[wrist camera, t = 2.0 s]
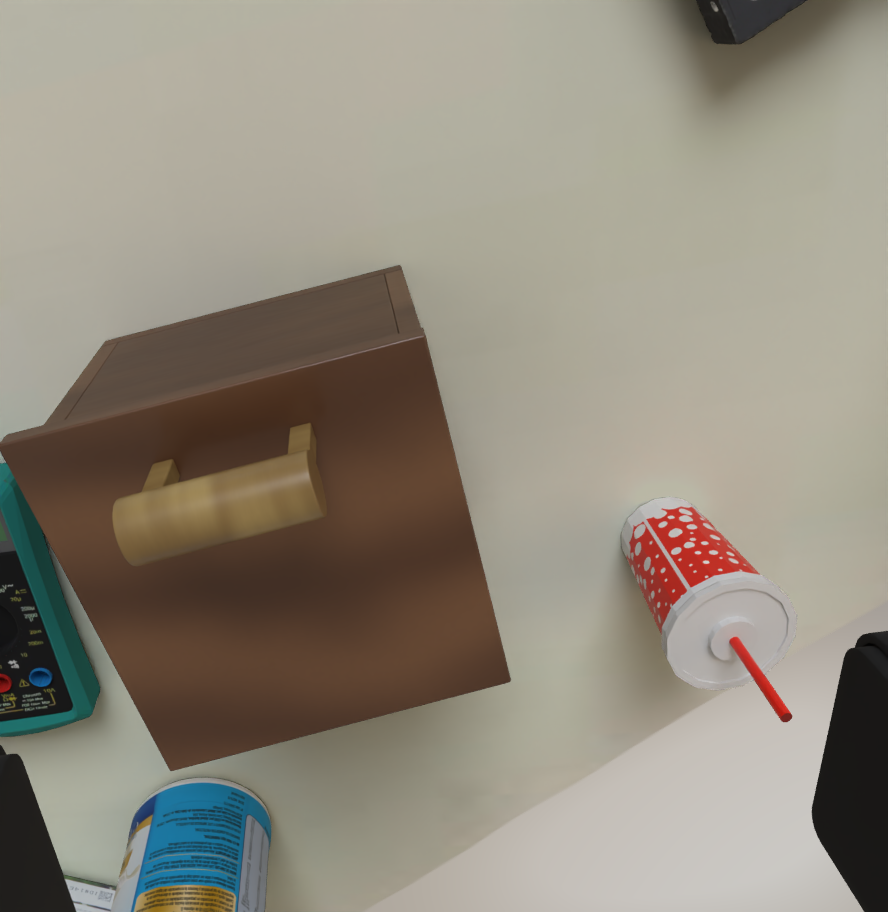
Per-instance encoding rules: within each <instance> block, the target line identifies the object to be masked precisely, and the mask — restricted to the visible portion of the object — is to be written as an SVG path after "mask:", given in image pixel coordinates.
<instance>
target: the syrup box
mask: <svg viewBox="0 0 888 912" xmlns="http://www.w3.org/2000/svg"><path fill="white" fill-rule="evenodd" d="M64 878H65V881H66V884H67V887H68V889H69V892H70V895H71V898H72V901H73V903H74V906H75V909H76V912H110V911H111V907H112V904H113V900H114V896H115V892H116V888H117V887H114V886H110V885H105V884H101V883H96V882H92V881H87V880H83V879H79V878H75V877H70V876H66V875H64Z"/></svg>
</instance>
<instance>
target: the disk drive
mask: <svg viewBox="0 0 888 912" xmlns="http://www.w3.org/2000/svg"><path fill="white" fill-rule="evenodd" d="M696 1H697V3H698V6H699V9H700V11H701V13H702V15H703V16H704V20H705V22H706V26H707V28H708V29H709V31H710V32H711V37H712V39H713V41H714V42H715V43H716V44H742V43H743V42H745V41H747V40H748V39H750V38H752V37H754V36H755V35H756V34H758V33H759V32H761V31H762V30H764V29H765V28H767V27H768V26H769V25H771V24H772V23H774V22H775V21H777V20H779V19H780V18H782V17H783V16H785V14H786V13H788V12H790V11H791V10H793V9H794V8H796V7H798V6H799V5H801V4H803V3H804V2H805V1H807V0H696Z"/></svg>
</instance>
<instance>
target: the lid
mask: <svg viewBox="0 0 888 912" xmlns="http://www.w3.org/2000/svg"><path fill="white" fill-rule="evenodd" d="M0 452H1V453H2V455H3V457H4V459H5V461H6V463H7V465H8V467H9V469H10V470H11V472H12V474H13V476H14V478H15V480H16V482H17V484H18V485H19V487H20V489H21V491H22V493H23V495H24V497H25V499H26V501H27V502H28V504H29V506H30V508H31V510H32V512H33V514H34V516H35V517H36V519H37V521H38V523H39V525H40V527H41V529H42V531H43V532H44V534H45V536H46V538H47V540H48V542H49V544H50V546H51V548H52V549H53V551H54V553H55V555H56V557H57V559H58V561H59V563H60V564H61V566H62V568H63V570H64V572H65V574H66V576H67V578H68V580H69V581H70V583H71V585H72V587H73V589H74V591H75V593H76V595H77V596H78V598H79V600H80V602H81V604H82V606H83V608H84V610H85V611H86V613H87V615H88V617H89V619H90V621H91V623H92V625H93V627H94V628H95V630H96V632H97V634H98V636H99V638H100V640H101V642H102V643H103V645H104V647H105V649H106V651H107V653H108V655H109V657H110V659H111V660H112V662H113V664H114V666H115V668H116V670H117V672H118V674H119V675H120V677H121V679H122V681H123V683H124V685H125V687H126V689H127V690H128V692H129V694H130V696H131V698H132V700H133V702H134V704H135V706H136V707H137V709H138V711H139V713H140V715H141V717H142V719H143V721H144V722H145V724H146V726H147V728H148V730H149V732H150V734H151V736H152V738H153V739H154V741H155V743H156V745H157V747H158V749H159V751H160V753H161V754H162V756H163V758H164V760H165V762H166V764H167V766H168V768H169V769H170V771H174V770H178V769H182V768H185V767H189V766H193V765H197V764H201V763H204V762H208V761H212V760H216V759H220V758H223V757H227V756H231V755H235V754H239V753H242V752H246V751H250V750H254V749H258V748H261V747H265V746H269V745H273V744H277V743H280V742H284V741H288V740H292V739H296V738H299V737H303V736H307V735H311V734H315V733H318V732H322V731H326V730H330V729H334V728H337V727H341V726H345V725H349V724H353V723H356V722H360V721H364V720H368V719H372V718H375V717H379V716H383V715H387V714H391V713H394V712H398V711H402V710H406V709H410V708H413V707H417V706H421V705H425V704H429V703H432V702H436V701H440V700H444V699H448V698H451V697H455V696H459V695H463V694H467V693H470V692H474V691H478V690H482V689H486V688H489V687H493V686H497V685H501V684H505V683H508V682H510V681H511V678H510V674H509V670H508V666H507V662H506V658H505V654H504V650H503V646H502V642H501V638H500V634H499V630H498V626H497V622H496V618H495V614H494V610H493V606H492V602H491V598H490V594H489V590H488V586H487V582H486V578H485V574H484V570H483V566H482V561H481V557H480V553H479V549H478V545H477V541H476V537H475V533H474V529H473V525H472V521H471V517H470V513H469V509H468V505H467V501H466V497H465V493H464V489H463V485H462V481H461V477H460V473H459V469H458V465H457V461H456V457H455V453H454V449H453V445H452V440H451V436H450V432H449V428H448V424H447V420H446V416H445V412H444V408H443V404H442V400H441V396H440V392H439V388H438V384H437V380H436V376H435V372H434V368H433V364H432V360H431V356H430V352H429V348H428V344H427V340H426V336H425V333H424V330H423V328H417V329H414V330H410V331H406V332H402V333H398V334H394V335H390V336H386V337H383V338H379V339H375V340H371V341H367V342H363V343H359V344H356V345H352V346H348V347H344V348H340V349H336V350H332V351H328V352H325V353H321V354H317V355H313V356H309V357H305V358H301V359H298V360H294V361H290V362H286V363H282V364H278V365H274V366H271V367H267V368H263V369H259V370H255V371H251V372H247V373H243V374H240V375H236V376H232V377H228V378H224V379H220V380H216V381H213V382H209V383H205V384H201V385H197V386H193V387H189V388H185V389H182V390H178V391H174V392H170V393H166V394H162V395H158V396H155V397H151V398H147V399H143V400H139V401H135V402H131V403H127V404H124V405H120V406H116V407H112V408H108V409H104V410H100V411H97V412H93V413H89V414H85V415H81V416H77V417H73V418H70V419H66V420H62V421H58V422H54V423H50V424H46V425H42V426H39V427H35V428H31V429H27V430H23V431H19V432H15V433H12V434H8V435H6V436H5V437H4V438H3V440H2V441H1V442H0Z"/></svg>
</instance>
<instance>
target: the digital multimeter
mask: <svg viewBox="0 0 888 912" xmlns="http://www.w3.org/2000/svg"><path fill="white" fill-rule="evenodd" d="M99 693H100V686H99V684H98V681H97V679H96V677H95V674H94V672H93V670H92V667H91V665H90V663H89V660H88V658H87V656H86V653H85V651H84V649H83V646H82V643H81V641H80V638H79V636H78V633H77V631H76V628H75V626H74V623H73V621H72V618H71V615H70V613H69V610H68V608H67V605H66V603H65V600H64V597H63V594H62V591H61V588H60V585H59V582H58V579H57V576H56V573H55V570H54V567H53V564H52V561H51V558H50V555H49V552H48V549H47V546H46V543H45V539H44V536H43V533H42V529H41V527H40V525H39V523H38V521H37V519H36V517H35V516H34V514H33V512H32V510H31V508H30V506H29V504H28V502H27V501H26V499H25V497H24V495H23V493H22V491H21V489H20V487H19V485H18V484H17V482H16V480H15V478H14V476H13V474H12V472H11V470H10V469H9V467H8V465H7V463H1V464H0V737H10V736H20V735H27V734H34V733H40V732H43V731H47V730H51V729H54V728H58V727H62V726H65V725H67V724H70V723H73V722H76V721H79V720H82V719H85V718H87V717H90V716H91V714H92V713H93V710H94V707H95V704H96V701H97V698H98V696H99Z"/></svg>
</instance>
